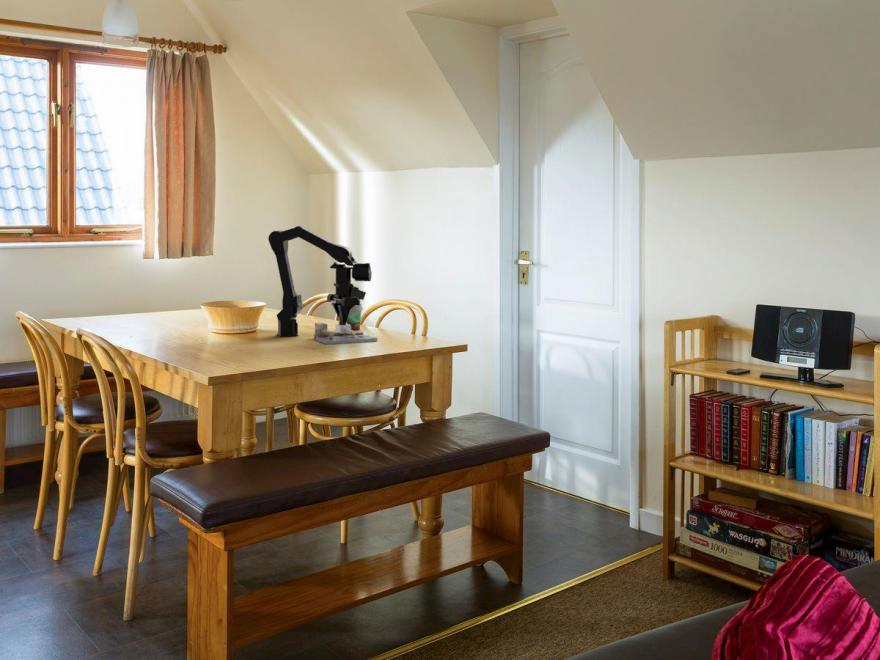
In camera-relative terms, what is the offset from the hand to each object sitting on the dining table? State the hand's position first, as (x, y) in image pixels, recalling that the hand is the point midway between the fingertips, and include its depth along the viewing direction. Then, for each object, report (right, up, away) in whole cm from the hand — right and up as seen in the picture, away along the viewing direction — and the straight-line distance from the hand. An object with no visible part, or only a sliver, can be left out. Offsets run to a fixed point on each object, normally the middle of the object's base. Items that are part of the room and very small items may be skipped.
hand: (343, 322), depth 339 cm
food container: (+2, -3, +22) cm, 23 cm away
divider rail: (0, -6, -4) cm, 7 cm away
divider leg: (+2, -4, -3) cm, 6 cm away
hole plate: (+2, -7, -9) cm, 12 cm away
